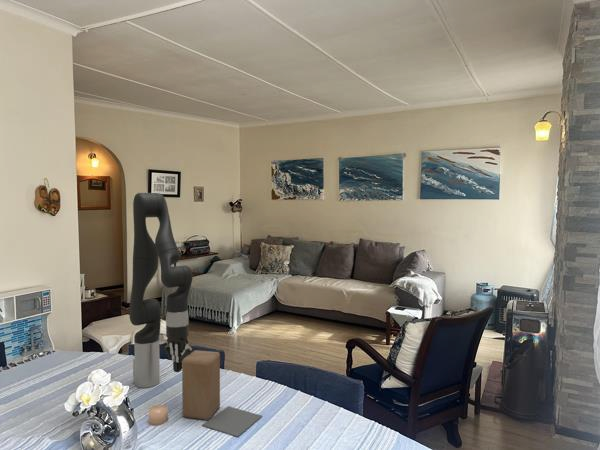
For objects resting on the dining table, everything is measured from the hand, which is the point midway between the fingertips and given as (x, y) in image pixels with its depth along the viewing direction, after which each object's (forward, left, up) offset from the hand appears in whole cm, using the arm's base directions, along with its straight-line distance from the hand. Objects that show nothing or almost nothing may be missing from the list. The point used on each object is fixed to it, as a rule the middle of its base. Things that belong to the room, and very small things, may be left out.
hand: (177, 371), depth 150 cm
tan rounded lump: (+2, -11, -12) cm, 17 cm away
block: (+11, 0, -12) cm, 16 cm away
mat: (+24, 0, -12) cm, 27 cm away
